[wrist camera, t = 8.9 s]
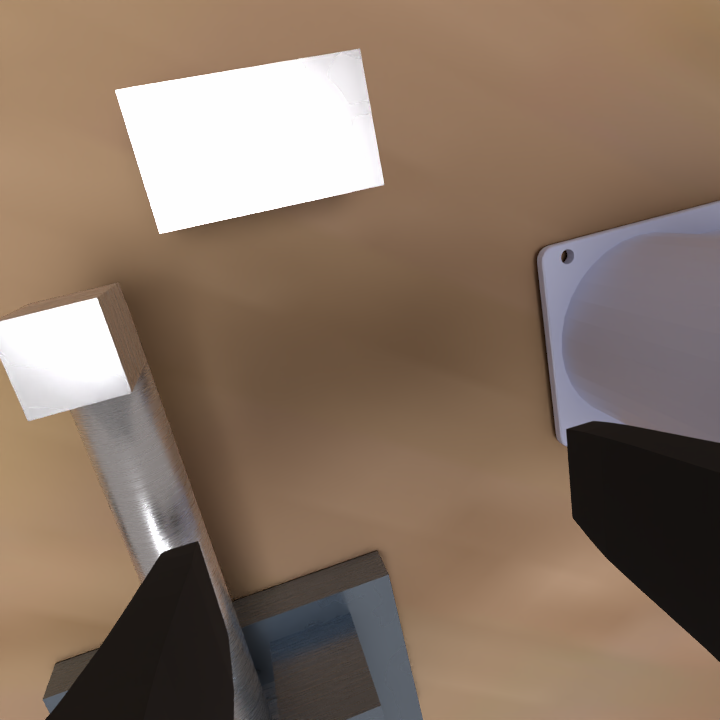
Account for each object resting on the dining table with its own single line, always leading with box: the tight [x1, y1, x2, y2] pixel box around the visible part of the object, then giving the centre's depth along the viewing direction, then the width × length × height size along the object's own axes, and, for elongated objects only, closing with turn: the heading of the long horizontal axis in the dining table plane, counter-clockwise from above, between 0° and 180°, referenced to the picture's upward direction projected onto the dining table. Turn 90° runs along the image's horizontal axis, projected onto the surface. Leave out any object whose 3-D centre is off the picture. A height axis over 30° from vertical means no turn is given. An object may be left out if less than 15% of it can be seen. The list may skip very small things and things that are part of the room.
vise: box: [0, 282, 423, 720], centre depth 16 cm, size 16×20×6 cm
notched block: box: [115, 49, 384, 233], centre depth 14 cm, size 5×3×4 cm, turn 102°
